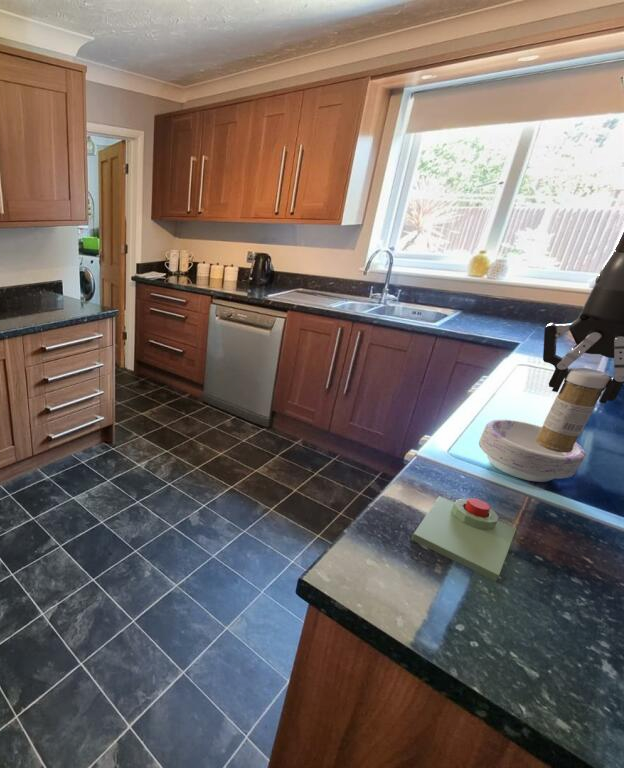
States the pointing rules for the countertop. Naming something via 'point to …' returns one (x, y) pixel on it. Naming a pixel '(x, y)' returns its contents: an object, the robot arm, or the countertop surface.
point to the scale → (466, 536)
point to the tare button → (477, 507)
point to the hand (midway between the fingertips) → (577, 395)
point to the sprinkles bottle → (572, 408)
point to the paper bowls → (526, 452)
